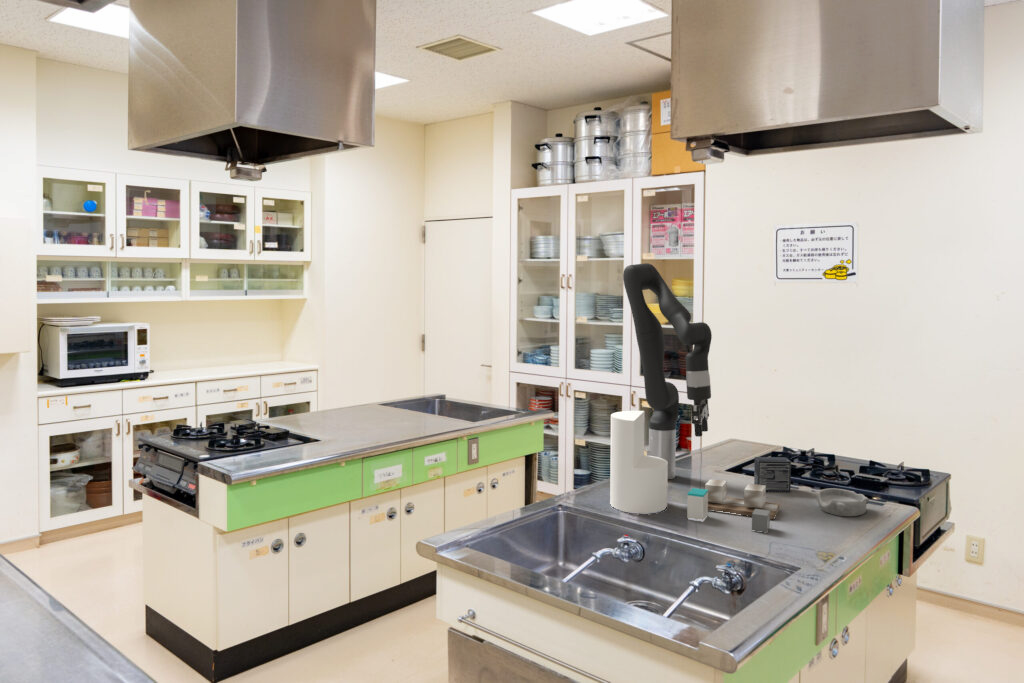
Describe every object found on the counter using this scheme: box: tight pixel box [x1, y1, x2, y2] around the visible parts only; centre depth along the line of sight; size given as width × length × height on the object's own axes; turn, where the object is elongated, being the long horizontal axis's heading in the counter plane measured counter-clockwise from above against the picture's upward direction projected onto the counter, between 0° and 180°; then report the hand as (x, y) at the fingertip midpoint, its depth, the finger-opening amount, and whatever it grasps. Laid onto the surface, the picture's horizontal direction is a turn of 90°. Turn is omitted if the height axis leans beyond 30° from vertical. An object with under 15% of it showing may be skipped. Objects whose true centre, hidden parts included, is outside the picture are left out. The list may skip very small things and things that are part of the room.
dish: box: [817, 487, 869, 517], centre depth 226 cm, size 14×14×5 cm
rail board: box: [704, 478, 781, 520], centre depth 227 cm, size 24×12×7 cm, turn 63°
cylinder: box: [609, 410, 668, 513], centre depth 230 cm, size 17×17×28 cm
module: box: [686, 487, 709, 520], centre depth 218 cm, size 4×6×8 cm
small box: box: [753, 456, 792, 494], centre depth 247 cm, size 11×6×10 cm, turn 84°
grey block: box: [751, 509, 771, 533], centre depth 209 cm, size 4×5×5 cm
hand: (701, 433), depth 245 cm, fingers open, 8 cm apart
